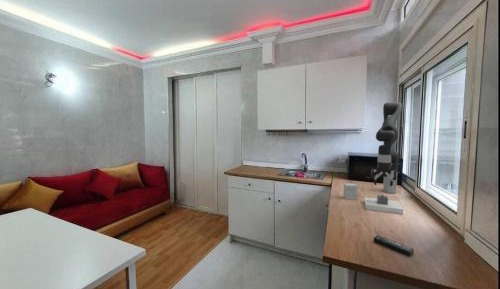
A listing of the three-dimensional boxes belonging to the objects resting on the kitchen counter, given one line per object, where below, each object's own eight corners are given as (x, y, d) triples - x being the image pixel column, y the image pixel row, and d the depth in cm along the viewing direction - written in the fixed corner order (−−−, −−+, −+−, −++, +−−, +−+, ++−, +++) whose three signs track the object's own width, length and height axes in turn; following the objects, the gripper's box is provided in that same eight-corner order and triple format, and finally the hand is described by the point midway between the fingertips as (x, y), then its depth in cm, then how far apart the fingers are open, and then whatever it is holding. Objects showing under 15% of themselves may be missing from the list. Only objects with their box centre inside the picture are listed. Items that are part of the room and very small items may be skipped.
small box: (354, 197, 166) (354, 183, 165) (357, 199, 160) (357, 185, 159) (343, 196, 166) (343, 183, 165) (345, 199, 161) (346, 185, 160)
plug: (376, 205, 148) (377, 193, 148) (386, 206, 146) (386, 194, 145) (377, 208, 143) (378, 195, 143) (387, 209, 141) (388, 196, 140)
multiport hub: (409, 257, 90) (410, 252, 90) (373, 242, 101) (373, 237, 101) (413, 254, 92) (414, 248, 92) (377, 239, 104) (377, 234, 104)
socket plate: (364, 201, 156) (364, 196, 156) (397, 205, 148) (397, 200, 148) (366, 209, 141) (366, 203, 141) (402, 214, 133) (403, 208, 133)
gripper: (395, 160, 143) (394, 185, 144) (371, 159, 148) (370, 182, 150) (398, 162, 136) (396, 188, 137) (372, 161, 141) (371, 185, 143)
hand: (382, 185), depth 144 cm, fingers open, 8 cm apart
